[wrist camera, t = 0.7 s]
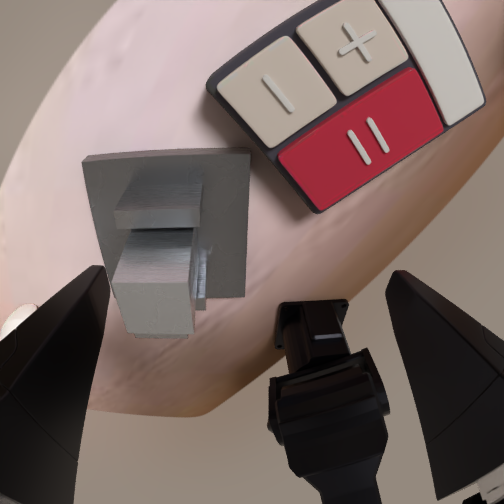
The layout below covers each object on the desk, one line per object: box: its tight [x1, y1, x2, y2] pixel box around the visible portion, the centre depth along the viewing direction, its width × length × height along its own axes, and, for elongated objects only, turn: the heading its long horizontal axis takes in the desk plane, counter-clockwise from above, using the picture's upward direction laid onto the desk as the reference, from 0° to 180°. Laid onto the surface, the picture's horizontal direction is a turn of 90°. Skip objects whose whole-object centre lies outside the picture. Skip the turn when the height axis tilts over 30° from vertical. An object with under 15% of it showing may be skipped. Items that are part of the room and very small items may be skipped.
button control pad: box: [206, 0, 486, 214], centre depth 17 cm, size 11×4×15 cm
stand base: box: [82, 148, 251, 310], centre depth 21 cm, size 12×11×5 cm
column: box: [111, 227, 199, 338], centre depth 20 cm, size 4×4×7 cm
